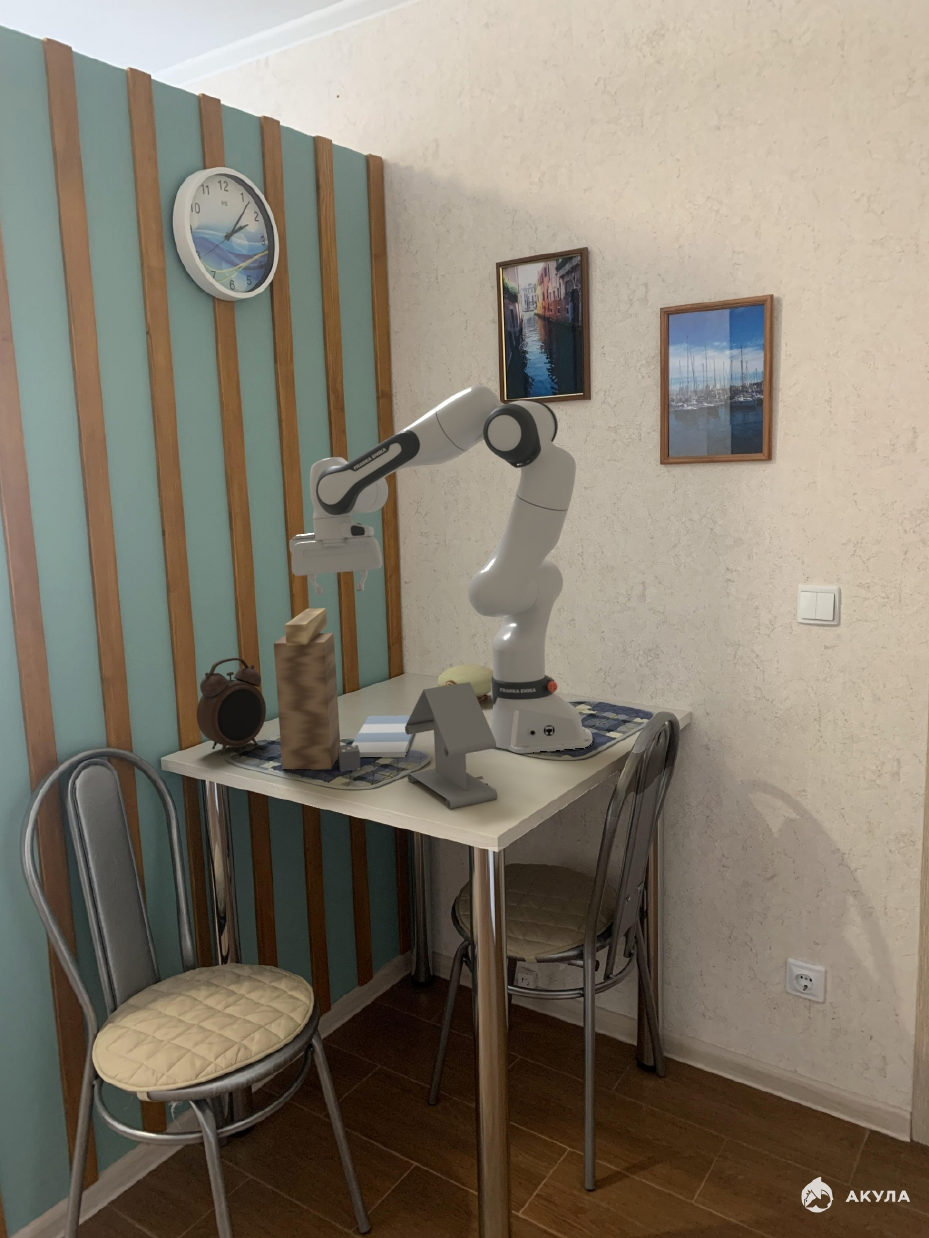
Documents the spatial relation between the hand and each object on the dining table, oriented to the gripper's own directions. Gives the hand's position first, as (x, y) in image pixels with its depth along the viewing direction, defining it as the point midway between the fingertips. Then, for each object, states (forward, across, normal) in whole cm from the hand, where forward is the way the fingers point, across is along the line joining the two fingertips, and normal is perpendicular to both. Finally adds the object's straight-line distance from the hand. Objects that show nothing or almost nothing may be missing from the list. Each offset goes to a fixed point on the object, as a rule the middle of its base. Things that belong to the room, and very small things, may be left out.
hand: (339, 592), depth 212 cm
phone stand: (+37, +25, -38) cm, 59 cm away
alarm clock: (+32, -24, -10) cm, 41 cm away
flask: (+31, +24, +25) cm, 47 cm away
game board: (+33, +8, -5) cm, 34 cm away
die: (+34, +3, -24) cm, 42 cm away
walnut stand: (+34, -5, -20) cm, 40 cm away
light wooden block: (+7, -4, -20) cm, 22 cm away
